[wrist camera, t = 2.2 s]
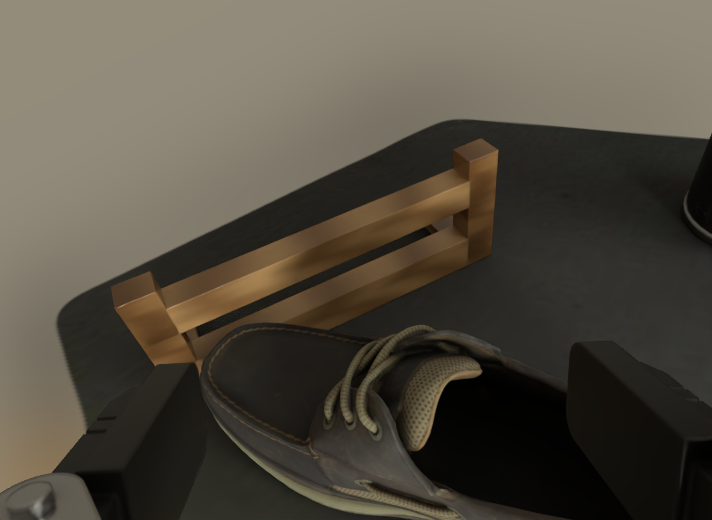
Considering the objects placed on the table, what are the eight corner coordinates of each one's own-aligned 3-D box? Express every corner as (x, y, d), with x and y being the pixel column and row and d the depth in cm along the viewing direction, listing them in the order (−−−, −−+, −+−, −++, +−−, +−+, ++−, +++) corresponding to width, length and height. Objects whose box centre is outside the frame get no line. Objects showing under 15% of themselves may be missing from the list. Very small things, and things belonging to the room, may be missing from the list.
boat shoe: (270, 327, 40) (228, 221, 32) (711, 452, 29) (800, 336, 22) (186, 456, 33) (108, 360, 26) (720, 681, 22) (855, 628, 15)
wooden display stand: (440, 203, 48) (438, 104, 41) (494, 253, 42) (502, 148, 36) (155, 325, 42) (96, 232, 35) (174, 402, 36) (109, 310, 29)
